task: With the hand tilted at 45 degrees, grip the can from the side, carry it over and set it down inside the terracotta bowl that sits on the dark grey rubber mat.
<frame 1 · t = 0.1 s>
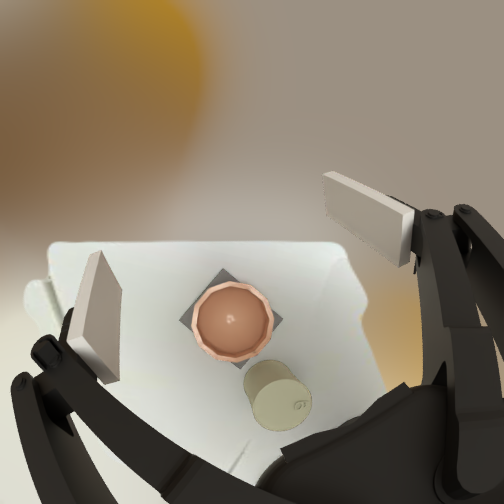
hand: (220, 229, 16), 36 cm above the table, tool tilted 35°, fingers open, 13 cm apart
mat: (231, 320, 50), on the table
can: (268, 382, 50), on the table
bowl: (231, 320, 50), resting on mat
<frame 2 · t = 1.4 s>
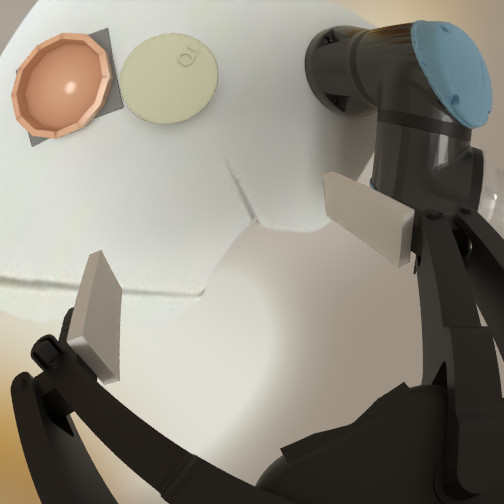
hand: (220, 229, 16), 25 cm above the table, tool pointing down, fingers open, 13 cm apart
mat: (65, 86, 26), on the table
can: (166, 87, 31), on the table
bowl: (64, 85, 26), resting on mat
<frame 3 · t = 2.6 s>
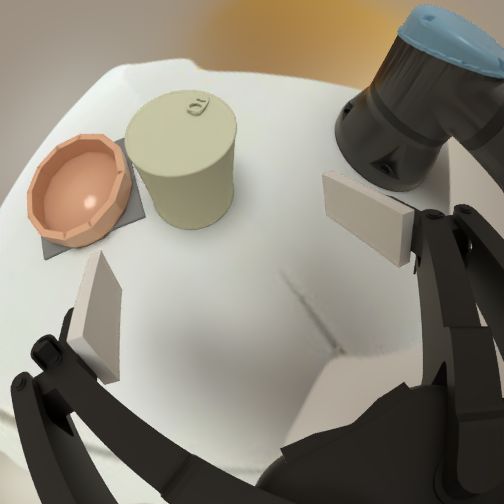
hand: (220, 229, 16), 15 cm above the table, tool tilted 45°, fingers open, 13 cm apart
mat: (83, 195, 31), on the table
can: (193, 192, 32), on the table
bowl: (82, 194, 30), resting on mat
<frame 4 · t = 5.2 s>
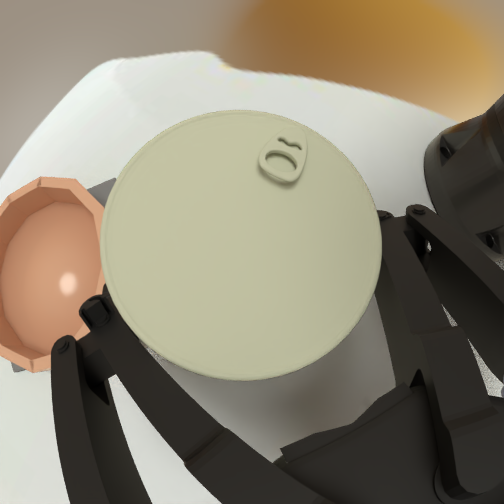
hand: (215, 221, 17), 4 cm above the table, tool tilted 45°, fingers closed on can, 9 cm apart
mat: (55, 278, 18), on the table
can: (234, 283, 20), on the table, touching gripper
bowl: (53, 277, 18), resting on mat
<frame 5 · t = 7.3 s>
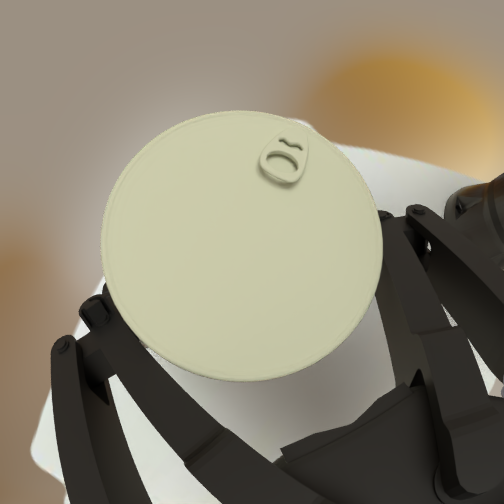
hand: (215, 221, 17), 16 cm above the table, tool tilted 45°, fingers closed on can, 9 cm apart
can: (234, 284, 20), point 12 cm above the table, touching gripper
when the fingers open (6 cm above the table, at t = 9.7 s): can drops 1 cm, resting on bowl.
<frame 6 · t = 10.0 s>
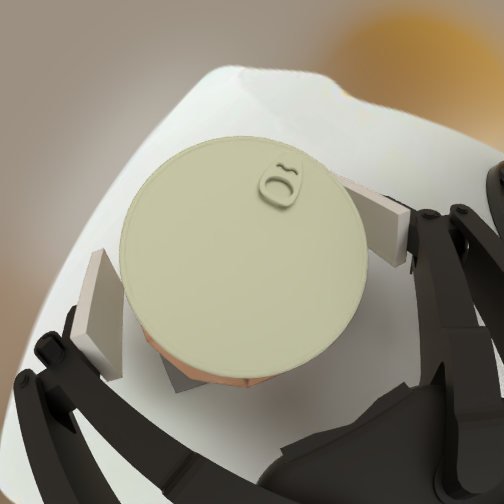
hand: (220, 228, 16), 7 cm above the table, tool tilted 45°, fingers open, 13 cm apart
mat: (233, 288, 22), on the table
can: (236, 288, 21), point 1 cm above the table, touching bowl
bowl: (233, 287, 22), resting on mat
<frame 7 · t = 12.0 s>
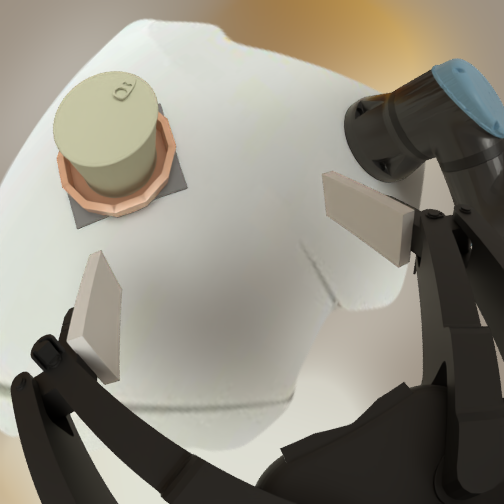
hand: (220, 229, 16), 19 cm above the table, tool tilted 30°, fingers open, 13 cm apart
mat: (118, 161, 31), on the table
can: (118, 160, 30), point 1 cm above the table, touching bowl
bowl: (117, 160, 30), resting on mat
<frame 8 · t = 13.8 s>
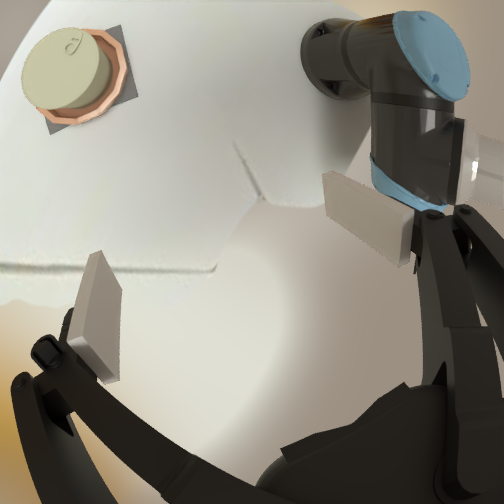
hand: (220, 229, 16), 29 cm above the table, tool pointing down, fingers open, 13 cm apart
mat: (82, 78, 29), on the table
can: (82, 78, 29), point 1 cm above the table, touching bowl
bowl: (81, 77, 29), resting on mat
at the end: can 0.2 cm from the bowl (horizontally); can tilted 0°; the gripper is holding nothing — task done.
